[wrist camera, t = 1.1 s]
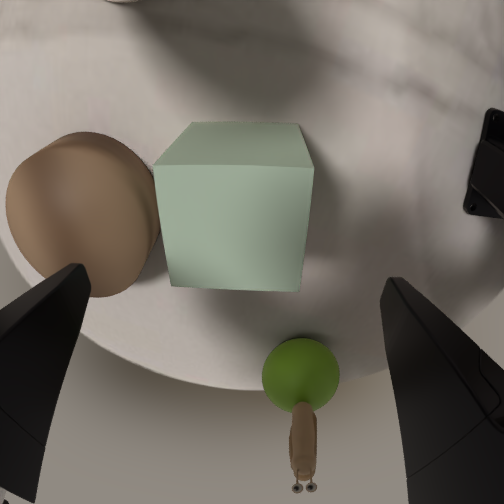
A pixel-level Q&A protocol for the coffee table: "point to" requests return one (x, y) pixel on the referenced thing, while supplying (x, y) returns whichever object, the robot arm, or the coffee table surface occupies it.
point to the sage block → (235, 205)
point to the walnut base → (85, 210)
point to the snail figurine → (301, 397)
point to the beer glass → (123, 1)
